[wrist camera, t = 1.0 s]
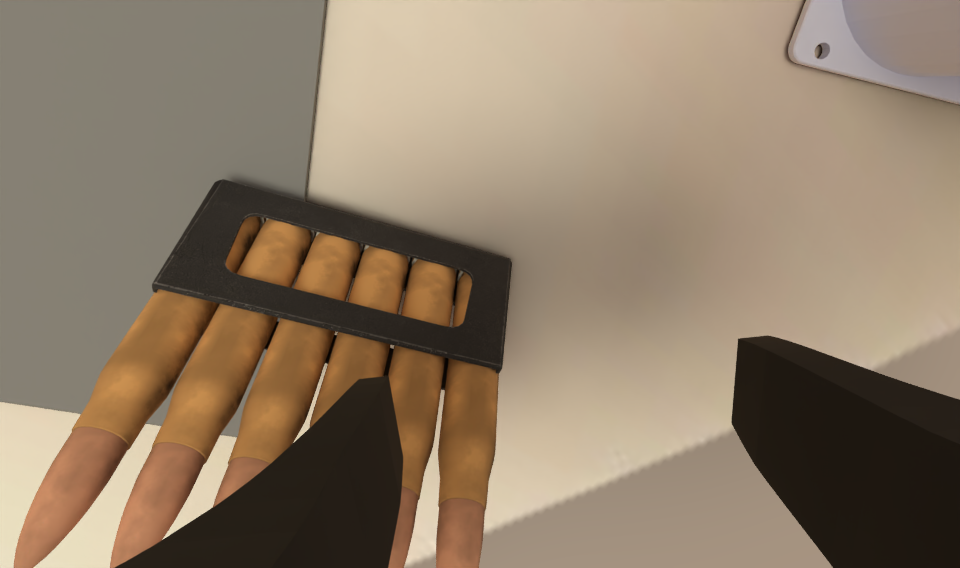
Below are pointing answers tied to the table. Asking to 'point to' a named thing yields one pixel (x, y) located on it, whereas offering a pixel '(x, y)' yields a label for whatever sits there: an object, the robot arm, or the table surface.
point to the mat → (131, 162)
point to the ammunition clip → (291, 366)
